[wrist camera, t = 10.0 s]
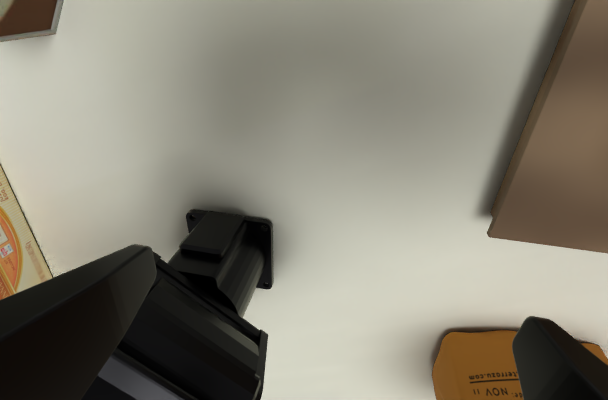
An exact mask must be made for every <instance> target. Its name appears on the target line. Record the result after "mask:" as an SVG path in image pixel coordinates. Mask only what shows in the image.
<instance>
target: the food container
mask: <svg viewBox="0 0 608 400" xmlns="http://www.w3.org/2000/svg"><path fill="white" fill-rule="evenodd" d="M62 4H63V0H0V42H4V41H11V40H17V39H24V38H31V37H38V36H45V35H51V34H56V30H57V26H58V21H59V17H60V13H61V9H62Z"/></svg>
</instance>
